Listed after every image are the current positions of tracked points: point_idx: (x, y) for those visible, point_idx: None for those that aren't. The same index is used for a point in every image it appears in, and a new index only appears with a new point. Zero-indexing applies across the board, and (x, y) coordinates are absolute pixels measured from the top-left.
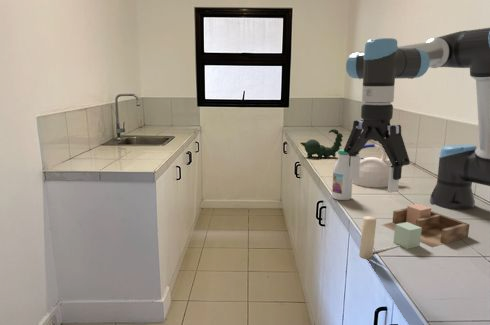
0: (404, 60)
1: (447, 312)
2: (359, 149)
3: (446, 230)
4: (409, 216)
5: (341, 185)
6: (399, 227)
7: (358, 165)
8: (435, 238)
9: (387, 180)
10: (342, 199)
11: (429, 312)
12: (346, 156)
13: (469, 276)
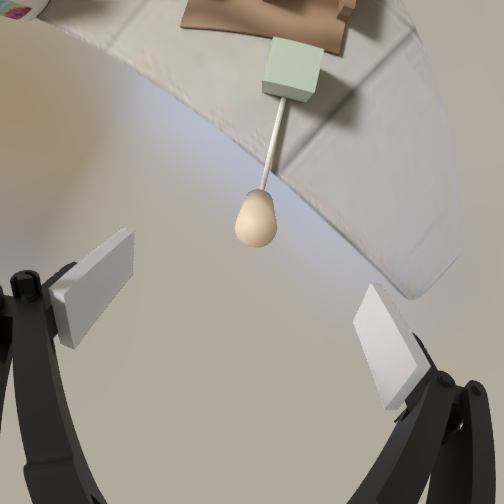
0: None
1: (430, 270)
2: (51, 354)
3: (354, 6)
4: None
5: (18, 5)
6: (278, 85)
7: (99, 269)
8: (317, 5)
9: None
10: (42, 9)
11: (412, 288)
12: None
13: (431, 133)
